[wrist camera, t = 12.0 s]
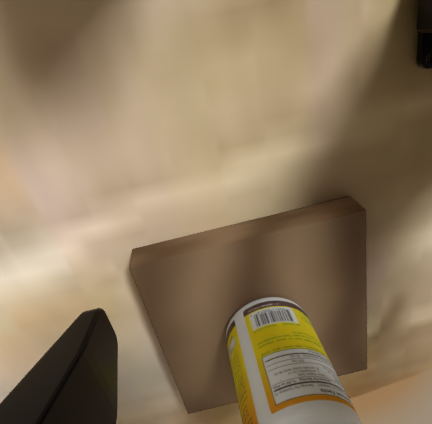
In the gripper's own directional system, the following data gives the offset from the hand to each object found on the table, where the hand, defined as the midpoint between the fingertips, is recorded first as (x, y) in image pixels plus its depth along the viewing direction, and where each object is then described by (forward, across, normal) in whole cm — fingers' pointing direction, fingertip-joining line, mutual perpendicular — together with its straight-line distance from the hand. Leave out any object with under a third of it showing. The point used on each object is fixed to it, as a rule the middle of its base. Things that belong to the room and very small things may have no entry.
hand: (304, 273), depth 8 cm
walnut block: (+13, 0, +13) cm, 18 cm away
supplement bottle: (+11, 0, +13) cm, 17 cm away
